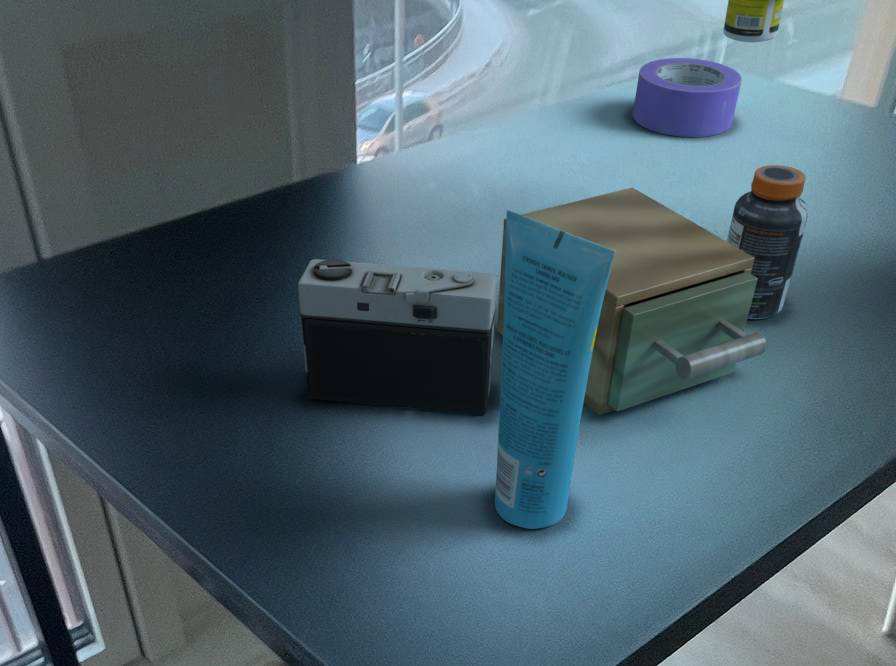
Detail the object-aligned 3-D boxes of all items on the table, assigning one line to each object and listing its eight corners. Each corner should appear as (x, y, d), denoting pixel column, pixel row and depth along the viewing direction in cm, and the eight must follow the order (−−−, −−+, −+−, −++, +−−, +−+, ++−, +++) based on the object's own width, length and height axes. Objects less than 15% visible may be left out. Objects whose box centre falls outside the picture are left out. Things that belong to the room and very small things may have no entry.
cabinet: (726, 373, 81) (755, 257, 74) (598, 415, 77) (617, 297, 70) (615, 296, 90) (632, 186, 83) (496, 331, 85) (503, 218, 79)
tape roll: (753, 126, 119) (763, 79, 115) (676, 144, 115) (685, 97, 111) (686, 96, 126) (695, 51, 122) (612, 113, 122) (618, 67, 118)
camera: (498, 363, 82) (506, 243, 75) (485, 419, 76) (493, 295, 69) (330, 348, 83) (322, 228, 76) (305, 402, 78) (295, 278, 71)
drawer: (772, 398, 77) (800, 303, 71) (653, 441, 73) (673, 343, 67) (628, 300, 87) (643, 210, 82) (518, 332, 84) (525, 239, 78)
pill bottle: (795, 305, 89) (833, 172, 81) (758, 328, 86) (794, 194, 78) (737, 282, 92) (768, 152, 84) (699, 304, 89) (728, 172, 81)
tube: (594, 511, 69) (639, 233, 55) (556, 547, 66) (593, 265, 52) (504, 470, 72) (525, 198, 58) (464, 504, 69) (476, 227, 55)
